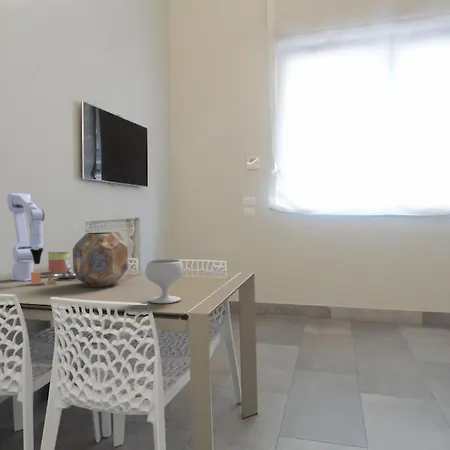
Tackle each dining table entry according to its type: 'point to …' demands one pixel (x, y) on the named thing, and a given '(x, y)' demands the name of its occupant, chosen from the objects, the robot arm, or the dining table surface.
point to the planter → (100, 259)
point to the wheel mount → (65, 279)
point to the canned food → (59, 261)
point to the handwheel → (68, 274)
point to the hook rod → (40, 277)
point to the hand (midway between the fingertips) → (37, 263)
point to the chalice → (164, 277)
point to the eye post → (49, 279)
